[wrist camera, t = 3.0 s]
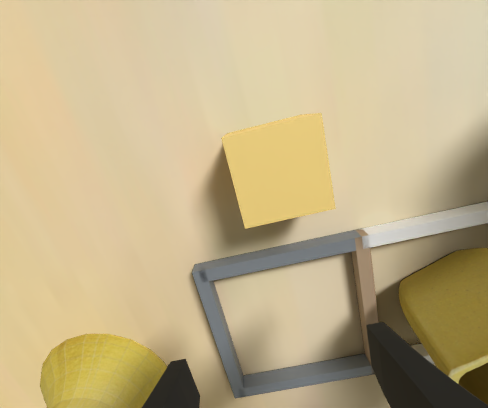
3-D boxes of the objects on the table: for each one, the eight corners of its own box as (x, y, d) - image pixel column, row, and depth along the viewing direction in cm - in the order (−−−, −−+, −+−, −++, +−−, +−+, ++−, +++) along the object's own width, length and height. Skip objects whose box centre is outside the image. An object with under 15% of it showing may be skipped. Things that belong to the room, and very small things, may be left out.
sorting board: (531, 192, 19) (549, 196, 18) (519, 335, 23) (533, 346, 22) (194, 264, 21) (191, 272, 20) (235, 385, 25) (234, 398, 24)
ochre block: (300, 114, 18) (321, 113, 13) (313, 186, 19) (335, 208, 14) (227, 133, 18) (221, 138, 13) (244, 202, 20) (244, 228, 15)
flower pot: (364, 274, 21) (445, 379, 13) (471, 214, 20) (646, 288, 11) (411, 346, 23) (508, 478, 15) (511, 297, 22) (682, 413, 13)
